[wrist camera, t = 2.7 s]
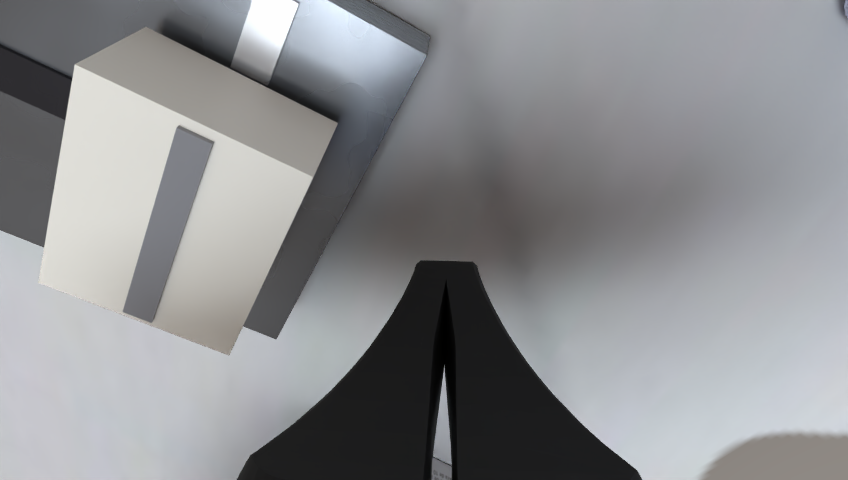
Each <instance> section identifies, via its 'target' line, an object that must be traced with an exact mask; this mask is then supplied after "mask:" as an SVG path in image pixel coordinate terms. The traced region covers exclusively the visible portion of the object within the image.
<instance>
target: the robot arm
mask: <svg viewBox="0 0 848 480" xmlns="http://www.w3.org/2000/svg"><path fill="white" fill-rule="evenodd" d="M844 9H845V15H846V16H847V18H848V0H846V1H845V4H844ZM444 365H445V377H446V390H447V403H448V415H449V428H450V440H451V459H452V480H642V479H641V477H640V475H639V473H638V471H637V470H636V469H635V468H633V467H632V466H631V465H630V464H628V463H627V462H626V461H625V460H623V459H622V458H621V457H620V456H618V455H617V454H616V453H615V452H613V451H612V450H611V449H610V448H608V447H607V446H606V445H604V444H603V443H602V442H601V441H600V440H599V439H598V438H596V437H595V436H594V435H593V434H592V433H591V432H590V431H589V430H588V429H587V428H586V427H585V426H583V425H582V424H581V423H580V422H579V421H578V420H577V419H576V418H575V417H574V415H573V414H572V413H571V412H570V411H569V410H568V409H567V408H566V407H565V406H564V405H563V404H562V403H561V402H560V401H559V400H558V399H557V398H556V397H555V396H554V395H553V393H552V392H551V391H550V390H549V389H548V388H547V386H546V385H545V384H544V383H543V382H542V380H541V379H540V378H539V377H538V376H537V374H536V373H535V372H534V370H533V369H532V368H531V366H530V365H529V364H528V363H527V361H526V360H525V358H524V357H523V356H522V354H521V353H520V351H519V350H518V348H517V347H516V345H515V344H514V342H513V340H512V339H511V337H510V336H509V334H508V333H507V331H506V329H505V327H504V326H503V324H502V322H501V320H500V319H499V317H498V315H497V313H496V311H495V309H494V307H493V306H492V304H491V301H490V299H489V297H488V295H487V293H486V291H485V288H484V286H483V283H482V281H481V278H480V275H479V272H478V268H477V265H476V264H474V263H473V262H460V261H420V262H419V263H417V264H416V267H415V270H414V273H413V275H412V278H411V280H410V282H409V284H408V287H407V288H406V290H405V292H404V294H403V296H402V298H401V300H400V301H399V303H398V305H397V307H396V308H395V310H394V312H393V313H392V315H391V317H390V318H389V320H388V321H387V323H386V324H385V326H384V327H383V329H382V330H381V332H380V333H379V334H378V336H377V337H376V339H375V340H374V342H373V343H372V344H371V346H370V347H369V348H368V349H367V351H366V352H365V353H364V355H363V356H362V357H361V358H360V359H359V361H358V362H357V363H356V364H355V365H354V366H353V368H352V369H351V370H350V371H349V372H348V373H347V374H346V375H345V376H344V377H343V378H342V379H341V381H340V382H339V383H338V384H337V385H336V386H335V387H334V388H333V389H332V390H331V391H330V392H329V393H328V394H327V395H326V396H325V397H324V398H323V399H322V400H320V401H319V402H318V403H317V404H316V405H315V406H313V407H312V408H311V409H310V410H309V411H308V412H307V413H305V414H304V415H303V416H302V417H301V418H300V419H299V420H297V421H296V422H295V423H294V424H293V425H291V426H290V427H289V428H288V429H286V430H285V431H284V432H282V433H281V434H280V435H278V436H277V437H275V438H274V439H273V440H271V441H270V442H269V443H267V444H266V445H265V446H263V447H262V448H260V449H259V450H258V451H256V452H255V453H253V454H252V455H250V457H249V459H248V460H247V462H246V464H245V466H244V467H243V469H242V471H241V473H240V475H239V477H238V479H237V480H432V460H433V449H434V440H435V433H436V425H437V417H438V410H439V402H440V394H441V387H442V379H443V371H444Z"/></svg>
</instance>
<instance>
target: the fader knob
mask: <svg viewBox="0 0 848 480" xmlns="http://www.w3.org/2000/svg"><path fill="white" fill-rule="evenodd" d="M337 124H338V123H337V122H335V121H333V120H331V119H329V118H327V117H325V116H323V115H321V114H319V113H317V112H315V111H313V110H311V109H309V108H307V107H305V106H303V105H301V104H299V103H297V102H295V101H293V100H291V99H289V98H287V97H285V96H283V95H281V94H279V93H277V92H275V91H273V90H271V89H269V88H267V87H265V86H263V85H261V84H259V83H257V82H255V81H253V80H251V79H249V78H247V77H245V76H243V75H241V74H239V73H237V72H235V71H233V70H231V69H229V68H227V67H225V66H223V65H221V64H219V63H217V62H215V61H213V60H211V59H209V58H207V57H205V56H203V55H201V54H199V53H197V52H195V51H193V50H191V49H189V48H187V47H185V46H183V45H181V44H179V43H177V42H175V41H173V40H171V39H169V38H167V37H165V36H163V35H161V34H159V33H157V32H155V31H154V30H152V29H150V28H148V27H145V28H143V29H141V30H139V31H137V32H135V33H133V34H131V35H129V36H127V37H126V38H124V39H122V40H120V41H118V42H116V43H114V44H112V45H110V46H109V47H107V48H105V49H103V50H101V51H99V52H97V53H95V54H93V55H91V56H90V57H88V58H86V59H84V60H82V61H80V62H78V63H76V64H75V66H74V72H73V78H72V84H71V90H70V96H69V102H68V108H67V114H66V120H65V126H64V132H63V138H62V144H61V150H60V156H59V162H58V168H57V174H56V180H55V186H54V192H53V197H52V203H51V209H50V215H49V221H48V227H47V233H46V239H45V245H44V251H43V257H42V263H41V269H40V275H39V281H38V283H40V284H43V285H45V286H48V287H51V288H53V289H56V290H58V291H61V292H64V293H66V294H69V295H72V296H74V297H77V298H79V299H82V300H85V301H87V302H90V303H93V304H95V305H98V306H100V307H103V308H106V309H108V310H111V311H114V312H116V313H119V314H121V315H124V316H127V317H129V318H132V319H135V320H137V321H140V322H142V323H145V324H148V325H150V326H153V327H156V328H158V329H161V330H163V331H166V332H169V333H171V334H174V335H177V336H179V337H182V338H184V339H187V340H190V341H192V342H195V343H198V344H200V345H203V346H205V347H208V348H211V349H213V350H216V351H219V352H221V353H224V354H226V355H230V353H231V350H232V348H233V346H234V344H235V342H236V340H237V338H238V336H239V334H240V331H241V329H242V327H243V325H244V323H245V321H246V319H247V317H248V314H249V312H250V310H251V308H252V306H253V304H254V302H255V300H256V298H257V295H258V293H259V291H260V289H261V287H262V285H263V283H264V281H265V279H266V276H267V274H268V272H269V270H270V268H271V266H272V264H273V262H274V259H275V257H276V255H277V253H278V251H279V249H280V247H281V245H282V243H283V240H284V238H285V236H286V234H287V232H288V230H289V228H290V226H291V223H292V221H293V219H294V217H295V215H296V213H297V211H298V209H299V207H300V204H301V202H302V200H303V198H304V196H305V194H306V192H307V190H308V188H309V185H310V183H311V181H312V179H313V177H314V175H315V173H316V170H317V168H318V166H319V164H320V162H321V159H322V157H323V155H324V153H325V151H326V148H327V146H328V144H329V142H330V140H331V138H332V135H333V133H334V131H335V129H336V127H337Z"/></svg>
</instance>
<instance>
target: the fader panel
mask: <svg viewBox="0 0 848 480" xmlns="http://www.w3.org/2000/svg"><path fill="white" fill-rule="evenodd" d="M145 27H148V28H150V29H152V30H154V31H155V32H157V33H159V34H161V35H163V36H165V37H167V38H169V39H171V40H173V41H175V42H177V43H179V44H181V45H183V46H185V47H187V48H189V49H191V50H193V51H195V52H197V53H199V54H201V55H203V56H205V57H207V58H209V59H211V60H213V61H215V62H217V63H219V64H221V65H223V66H225V67H227V68H229V69H231V70H233V71H235V72H237V73H239V74H241V75H243V76H245V77H247V78H249V79H251V80H253V81H255V82H257V83H259V84H261V85H263V86H265V87H267V88H269V89H271V90H273V91H275V92H277V93H279V94H281V95H283V96H285V97H287V98H289V99H291V100H293V101H295V102H297V103H299V104H301V105H303V106H305V107H307V108H309V109H311V110H313V111H315V112H317V113H319V114H321V115H323V116H325V117H327V118H329V119H331V120H333V121H335V122H337V123H338V124H337V127H336V129H335V131H334V133H333V135H332V138H331V140H330V142H329V144H328V146H327V148H326V151H325V153H324V155H323V157H322V159H321V162H320V164H319V166H318V168H317V170H316V173H315V175H314V177H313V179H312V181H311V183H310V185H309V188H308V190H307V192H306V194H305V196H304V198H303V200H302V202H301V204H300V207H299V209H298V211H297V213H296V215H295V217H294V219H293V221H292V223H291V226H290V228H289V230H288V232H287V234H286V236H285V238H284V240H283V243H282V245H281V247H280V249H279V251H278V253H277V255H276V257H275V259H274V262H273V264H272V266H271V268H270V270H269V272H268V274H267V276H266V279H265V281H264V283H263V285H262V287H261V289H260V291H259V293H258V295H257V298H256V300H255V302H254V304H253V306H252V308H251V310H250V312H249V314H248V317H247V319H246V321H245V323H244V325H243V326H244V327H246V328H249V329H252V330H254V331H257V332H259V333H262V334H264V335H267V336H269V337H272V338H274V339H277V337H278V335H279V333H280V331H281V330H282V328H283V326H284V324H285V322H286V320H287V318H288V316H289V314H290V313H291V311H292V309H293V307H294V305H295V303H296V301H297V299H298V297H299V296H300V294H301V292H302V290H303V288H304V286H305V284H306V282H307V281H308V279H309V277H310V275H311V273H312V271H313V269H314V267H315V265H316V264H317V262H318V260H319V258H320V256H321V254H322V252H323V250H324V248H325V247H326V245H327V243H328V241H329V239H330V237H331V235H332V233H333V232H334V230H335V228H336V226H337V224H338V222H339V220H340V218H341V216H342V215H343V213H344V211H345V209H346V207H347V205H348V203H349V201H350V200H351V198H352V196H353V194H354V192H355V190H356V188H357V186H358V184H359V183H360V181H361V179H362V177H363V175H364V173H365V171H366V169H367V167H368V166H369V164H370V162H371V160H372V158H373V156H374V154H375V152H376V151H377V149H378V147H379V145H380V143H381V141H382V139H383V137H384V135H385V134H386V132H387V130H388V128H389V126H390V124H391V122H392V120H393V118H394V117H395V115H396V113H397V111H398V109H399V107H400V105H401V103H402V102H403V100H404V98H405V96H406V94H407V92H408V90H409V88H410V86H411V85H412V83H413V81H414V79H415V77H416V75H417V73H418V71H419V69H420V68H421V66H422V64H423V62H424V60H425V58H426V56H427V52H428V45H429V39H430V36H429V35H427V34H425V33H424V32H422V31H420V30H418V29H416V28H415V27H413V26H411V25H409V24H408V23H406V22H404V21H402V20H401V19H399V18H397V17H395V16H393V15H392V14H390V13H388V12H386V11H385V10H383V9H381V8H379V7H377V6H376V5H374V4H372V3H370V2H369V1H367V0H0V230H1V231H4V232H6V233H9V234H11V235H14V236H16V237H19V238H22V239H24V240H27V241H29V242H32V243H34V244H37V245H39V246H42V247H44V245H45V239H46V233H47V227H48V221H49V215H50V209H51V203H52V197H53V192H54V186H55V180H56V174H57V168H58V162H59V156H60V150H61V144H62V138H63V132H64V126H65V120H66V114H67V108H68V102H69V96H70V90H71V84H72V78H73V72H74V66H75V64H76V63H78V62H80V61H82V60H84V59H86V58H88V57H90V56H91V55H93V54H95V53H97V52H99V51H101V50H103V49H105V48H107V47H109V46H110V45H112V44H114V43H116V42H118V41H120V40H122V39H124V38H126V37H127V36H129V35H131V34H133V33H135V32H137V31H139V30H141V29H143V28H145Z"/></svg>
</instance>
